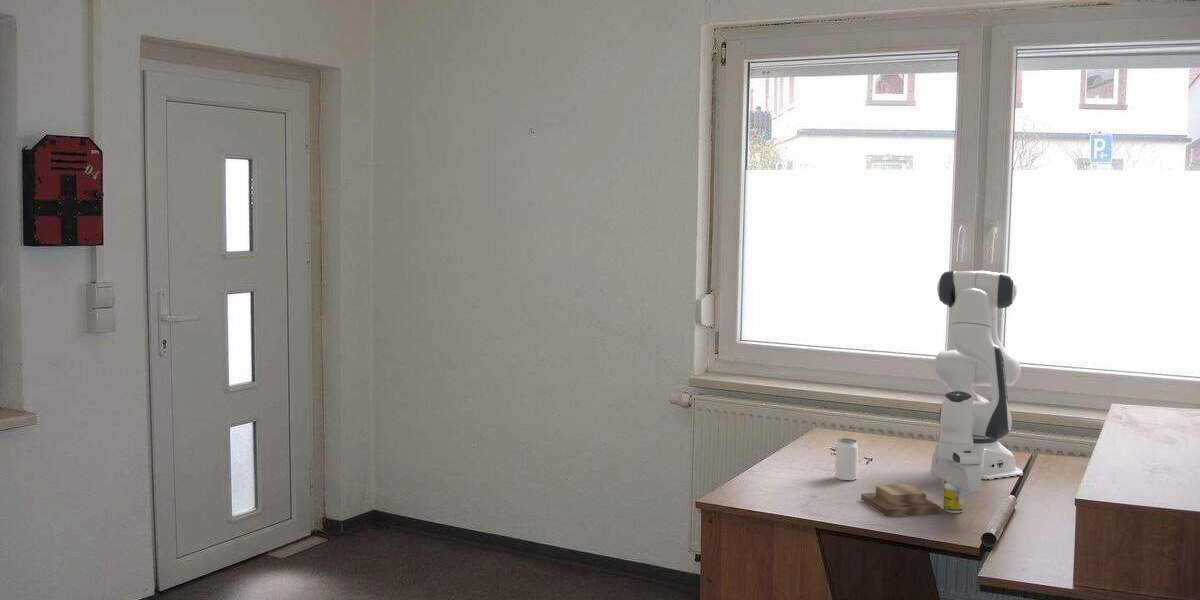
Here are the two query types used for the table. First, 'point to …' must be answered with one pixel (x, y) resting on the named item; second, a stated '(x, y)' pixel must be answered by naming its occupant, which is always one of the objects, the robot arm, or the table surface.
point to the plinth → (900, 509)
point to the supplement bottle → (951, 498)
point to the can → (846, 459)
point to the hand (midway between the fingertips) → (953, 499)
